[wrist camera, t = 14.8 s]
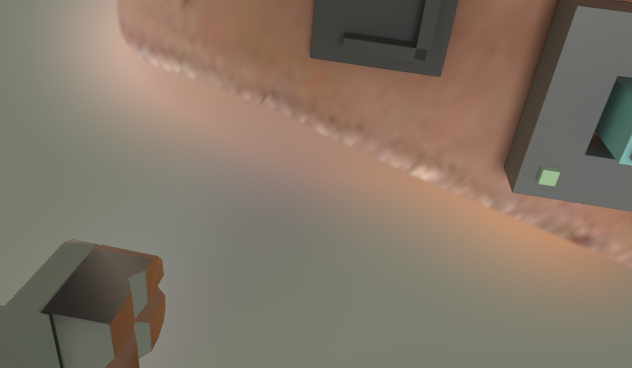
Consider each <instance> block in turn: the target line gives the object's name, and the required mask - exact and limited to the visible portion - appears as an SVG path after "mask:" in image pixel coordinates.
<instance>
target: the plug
mask: <svg viewBox="0 0 632 368" xmlns="http://www.w3.org/2000/svg"><path fill="white" fill-rule="evenodd" d="M595 132H596V133H597V134H598V136H599V137H600V138H601V140H602V141H603V143H604V144H605V145H606V147H607V148H608V149H609V151H610V152H611V154H612V155H613V156H614V158H615V159H616V161H617V162H618V163H619V164H625V165H632V78H630V77H623V76H617V78H616V81H615V83H614V86H613V88H612V90H611V93H610V95H609V98H608V100H607V102H606V105H605V107H604V110H603V112H602V114H601V117H600V119H599V122H598V124H597V126H596V129H595Z"/></svg>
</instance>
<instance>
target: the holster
mask: <svg viewBox="0 0 632 368" xmlns="http://www.w3.org/2000/svg"><path fill="white" fill-rule="evenodd" d="M457 4H458V0H315V10H314V20H313V31H312V41H311V51H310V58H314V59H321V60H328V61H335V62H342V63H349V64H355V65H362V66H369V67H376V68H383V69H389V70H396V71H403V72H410V73H417V74H423V75H430V76H437V77H440V76H441V72H442V68H443V63H444V59H445V55H446V51H447V46H448V42H449V38H450V34H451V29H452V25H453V21H454V17H455V12H456V8H457Z"/></svg>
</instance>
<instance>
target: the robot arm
mask: <svg viewBox="0 0 632 368" xmlns="http://www.w3.org/2000/svg"><path fill="white" fill-rule="evenodd" d="M163 276H164V273H163V263H162V259H161V258H159V257H158V256H155V255H150V254H145V253H140V252H135V251H130V250H125V249H120V248H116V247H110V246H106V245H97V244H93V243H88V242H83V241H78V240H73V239H72V240H69V241H67V242H65V243H63V244H62V245H61V246H60V247H59V248H58V249H57V250H56V251H55V252H54V253H53V255H52V256H51V257H50V258H49V259H48V260H47V261H46V262H45V263H44V264H43V265H42V266H41V267H40V269H39V270H38V271H37V272H36V273H35V274H34V275H33V276H32V277H31V278H30V279H29V281H28V282H27V283H26V284H25V285H24V286H23V287H22V288H21V289H20V290H19V291H18V292H17V294H15V296H14V297H13V298H12V299H11V300H10V301H9V302H8V303H7V304H6V305H5V306H1V305H0V368H139V358H141V357H143V356H144V355H146V354H147V353H149V352H151V351H152V349H153V347H154V345H155V343H156V341H157V339H158V337H159V334H160V331H161V328H162V324H163V321H164V315H165V295H164V294H163V292H162V291H161V290H160V289H159V288H158V284H159V283H160V281H161V279H162V277H163Z"/></svg>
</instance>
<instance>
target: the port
mask: <svg viewBox="0 0 632 368" xmlns="http://www.w3.org/2000/svg"><path fill="white" fill-rule="evenodd" d="M617 76H623V77H630V78H632V2H624V1H617V0H559V3H558V6H557V9H556V12H555V15H554V18H553V21H552V24H551V27H550V30H549V33H548V36H547V39H546V42H545V45H544V48H543V52H542V55H541V58H540V61H539V64H538V67H537V70H536V73H535V76H534V79H533V82H532V85H531V88H530V91H529V94H528V97H527V100H526V103H525V106H524V109H523V112H522V115H521V118H520V121H519V124H518V127H517V130H516V133H515V136H514V139H513V142H512V145H511V148H510V151H509V154H508V157H507V160H506V163H505V166H504V169H505V172H506V175H507V178H508V181H509V184H510V187H511V190H512V192H513V193H519V194H525V195H531V196H538V197H544V198H550V199H556V200H563V201H569V202H575V203H581V204H587V205H594V206H600V207H606V208H612V209H619V210H625V211H631V212H632V165H625V164H619V163H618V162H617V161H616V159H615V158H614V156H613V155H612V154H611V152H610V151H609V149H608V148H607V147H606V145H605V144H604V143H603V141H602V140H601V138H600V137H599V136H596V135H593V134H594V131H595V129H596V126H597V124H598V122H599V119H600V117H601V114H602V112H603V110H604V107H605V105H606V102H607V100H608V98H609V95H610V93H611V90H612V88H613V86H614V83H615V81H616V78H617Z"/></svg>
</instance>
